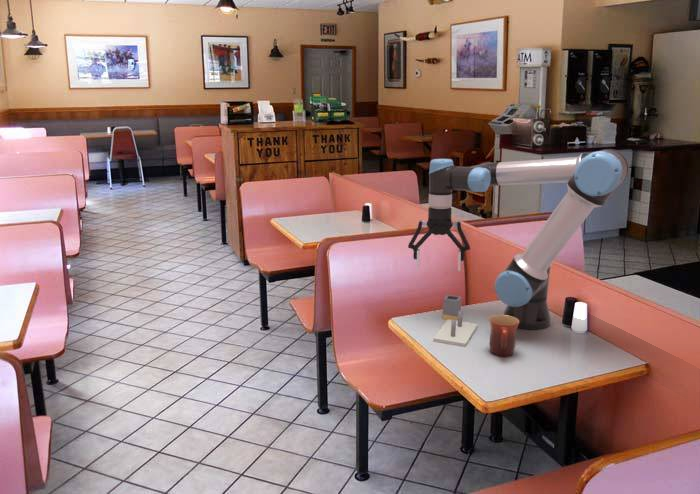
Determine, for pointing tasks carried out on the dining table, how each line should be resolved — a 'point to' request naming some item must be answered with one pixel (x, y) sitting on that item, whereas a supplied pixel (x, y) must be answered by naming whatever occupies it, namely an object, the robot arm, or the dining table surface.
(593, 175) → the robot arm
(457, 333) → the pin board
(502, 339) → the mug
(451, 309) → the sleeve
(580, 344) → the dining table surface
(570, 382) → the dining table surface
